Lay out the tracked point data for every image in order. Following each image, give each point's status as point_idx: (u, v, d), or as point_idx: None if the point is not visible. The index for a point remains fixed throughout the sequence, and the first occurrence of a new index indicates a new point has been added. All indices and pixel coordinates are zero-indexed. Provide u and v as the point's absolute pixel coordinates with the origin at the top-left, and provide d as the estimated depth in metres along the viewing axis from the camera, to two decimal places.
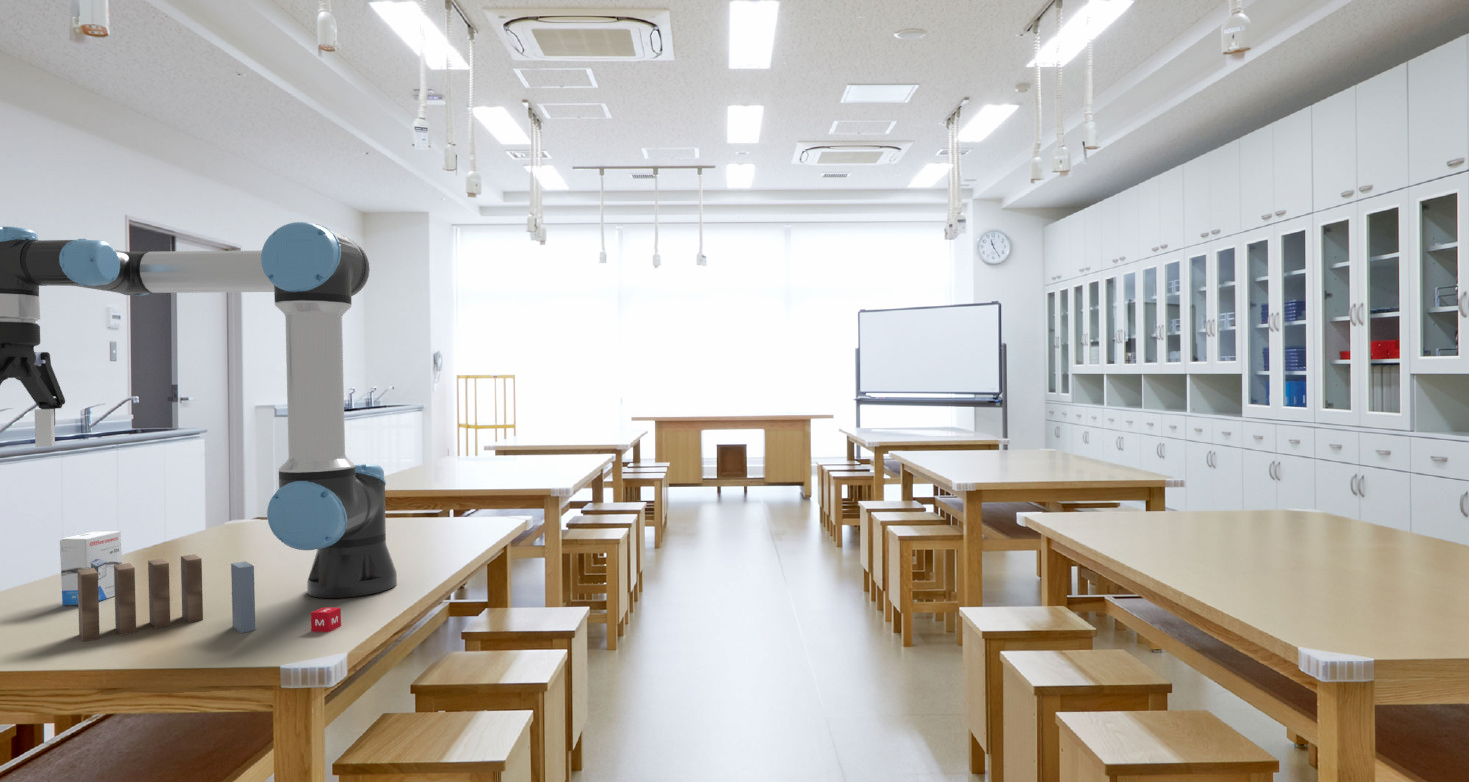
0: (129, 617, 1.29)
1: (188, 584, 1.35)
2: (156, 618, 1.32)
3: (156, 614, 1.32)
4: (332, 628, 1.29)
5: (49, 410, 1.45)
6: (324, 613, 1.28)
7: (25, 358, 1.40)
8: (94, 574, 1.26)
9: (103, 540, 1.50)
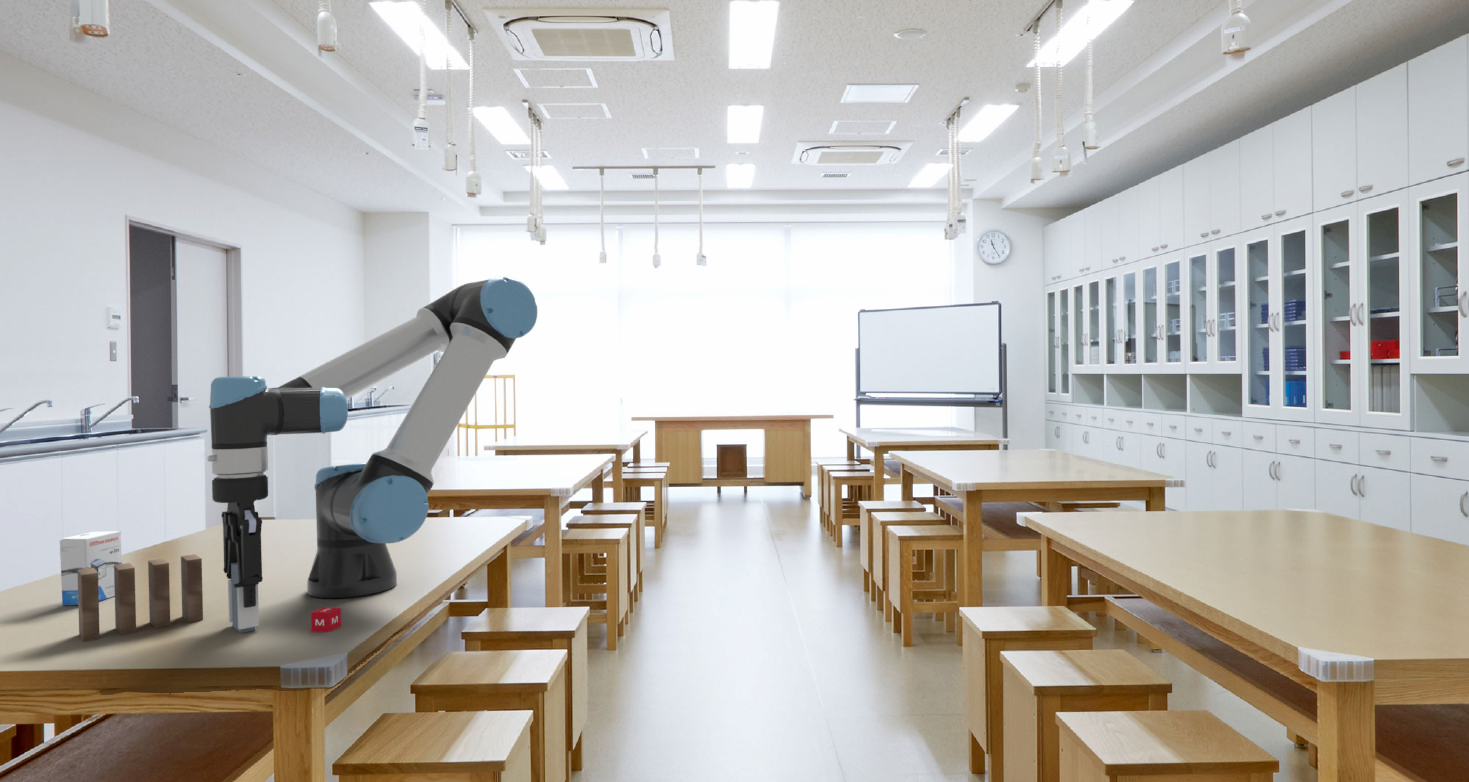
0: (129, 617, 1.29)
1: (188, 584, 1.35)
2: (156, 618, 1.32)
3: (156, 614, 1.32)
4: (332, 628, 1.29)
5: None
6: (324, 613, 1.28)
7: None
8: (94, 574, 1.26)
9: (103, 540, 1.50)
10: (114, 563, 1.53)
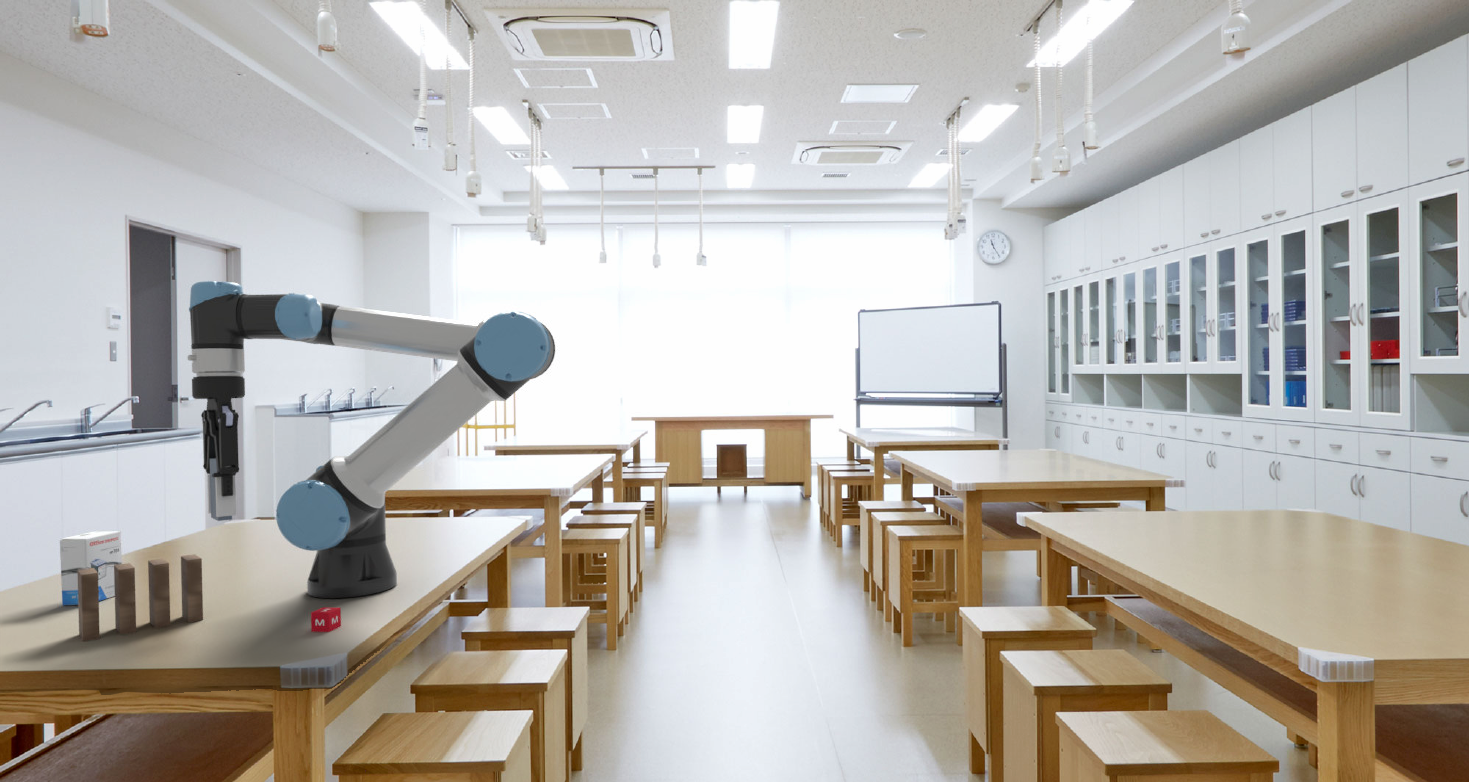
0: (129, 617, 1.29)
1: (188, 584, 1.35)
2: (156, 618, 1.32)
3: (156, 614, 1.32)
4: (332, 628, 1.29)
5: None
6: (324, 613, 1.28)
7: None
8: (94, 574, 1.26)
9: (103, 540, 1.50)
10: (114, 563, 1.53)
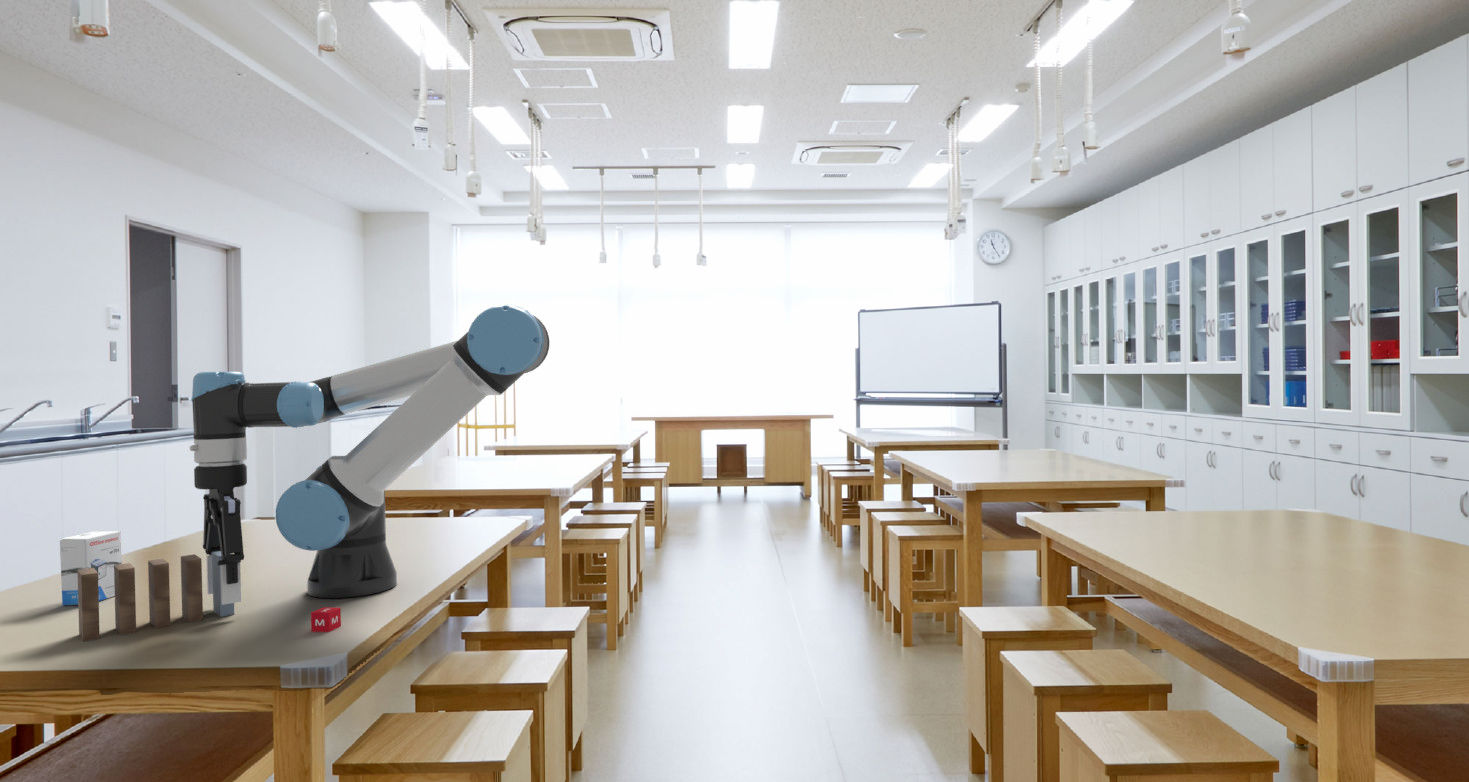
0: (129, 617, 1.29)
1: (188, 584, 1.35)
2: (156, 618, 1.32)
3: (156, 614, 1.32)
4: (332, 628, 1.29)
5: None
6: (324, 613, 1.28)
7: None
8: (94, 574, 1.26)
9: (103, 540, 1.50)
10: (114, 563, 1.53)
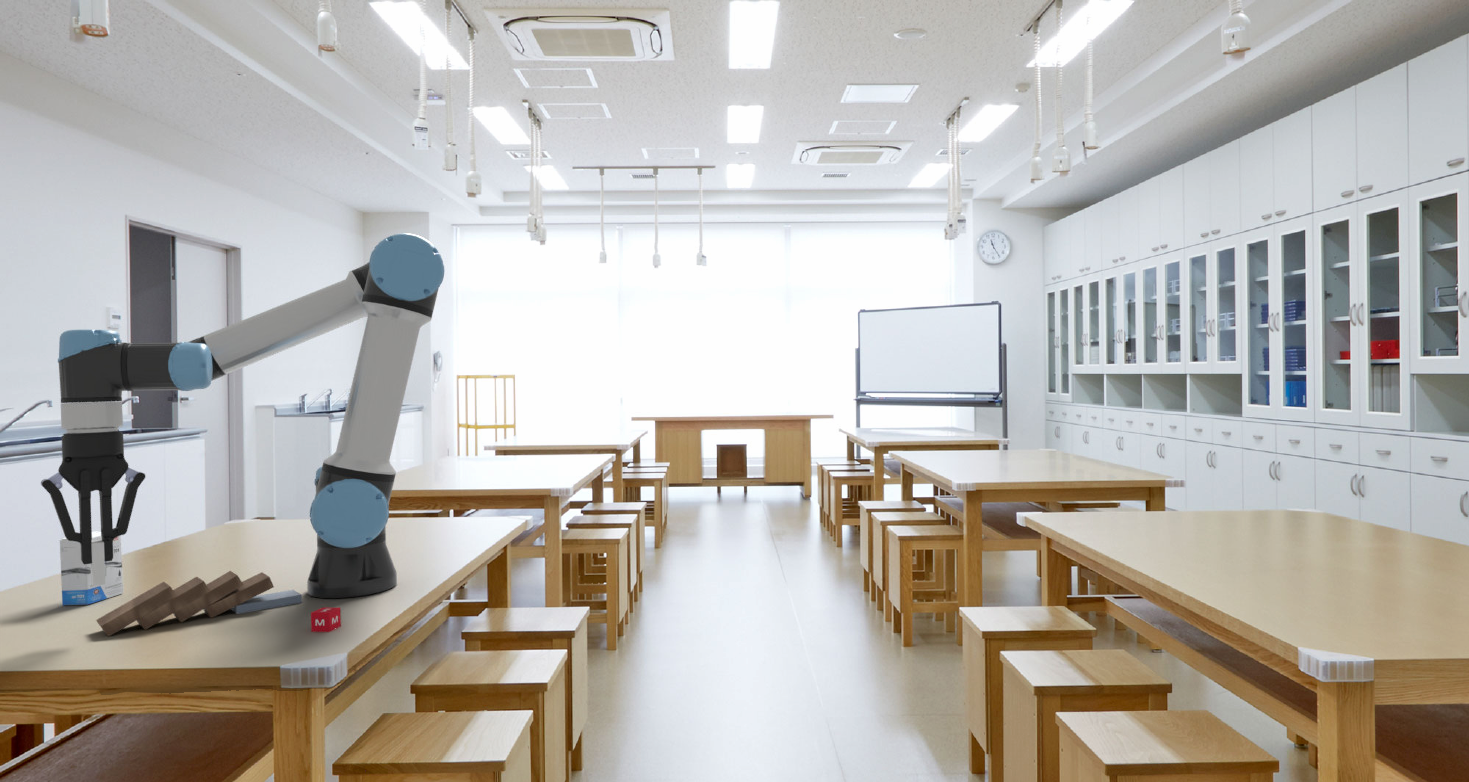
0: (158, 616, 1.32)
1: (245, 589, 1.40)
2: (184, 607, 1.34)
3: (189, 605, 1.35)
4: (332, 628, 1.29)
5: (97, 544, 1.28)
6: (324, 613, 1.28)
7: (104, 468, 1.28)
8: (174, 595, 1.33)
9: None
10: (114, 563, 1.53)
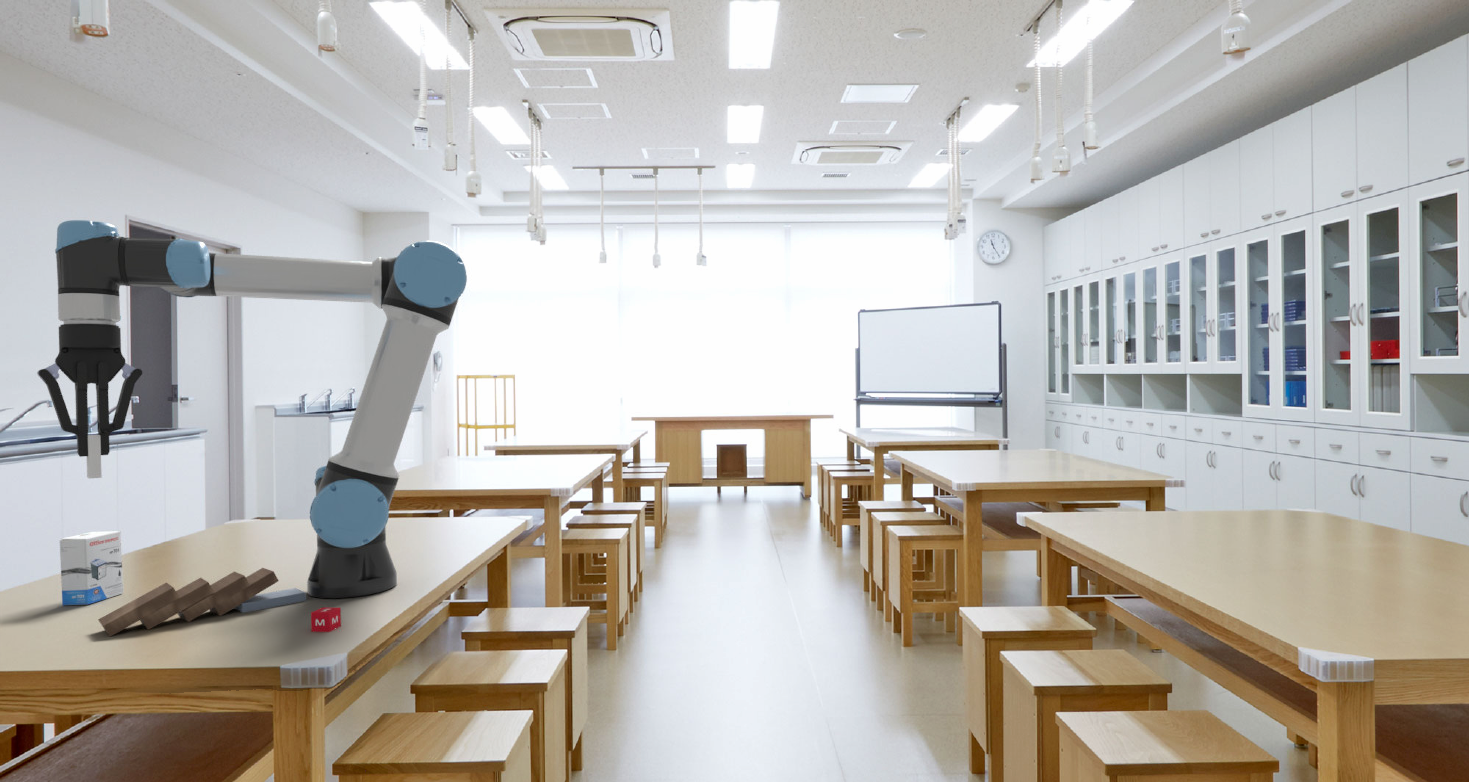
0: (162, 616, 1.32)
1: (251, 585, 1.42)
2: (192, 606, 1.35)
3: (196, 604, 1.35)
4: (332, 628, 1.29)
5: None
6: (325, 613, 1.28)
7: (101, 361, 1.28)
8: (177, 596, 1.34)
9: (103, 540, 1.50)
10: (114, 563, 1.53)
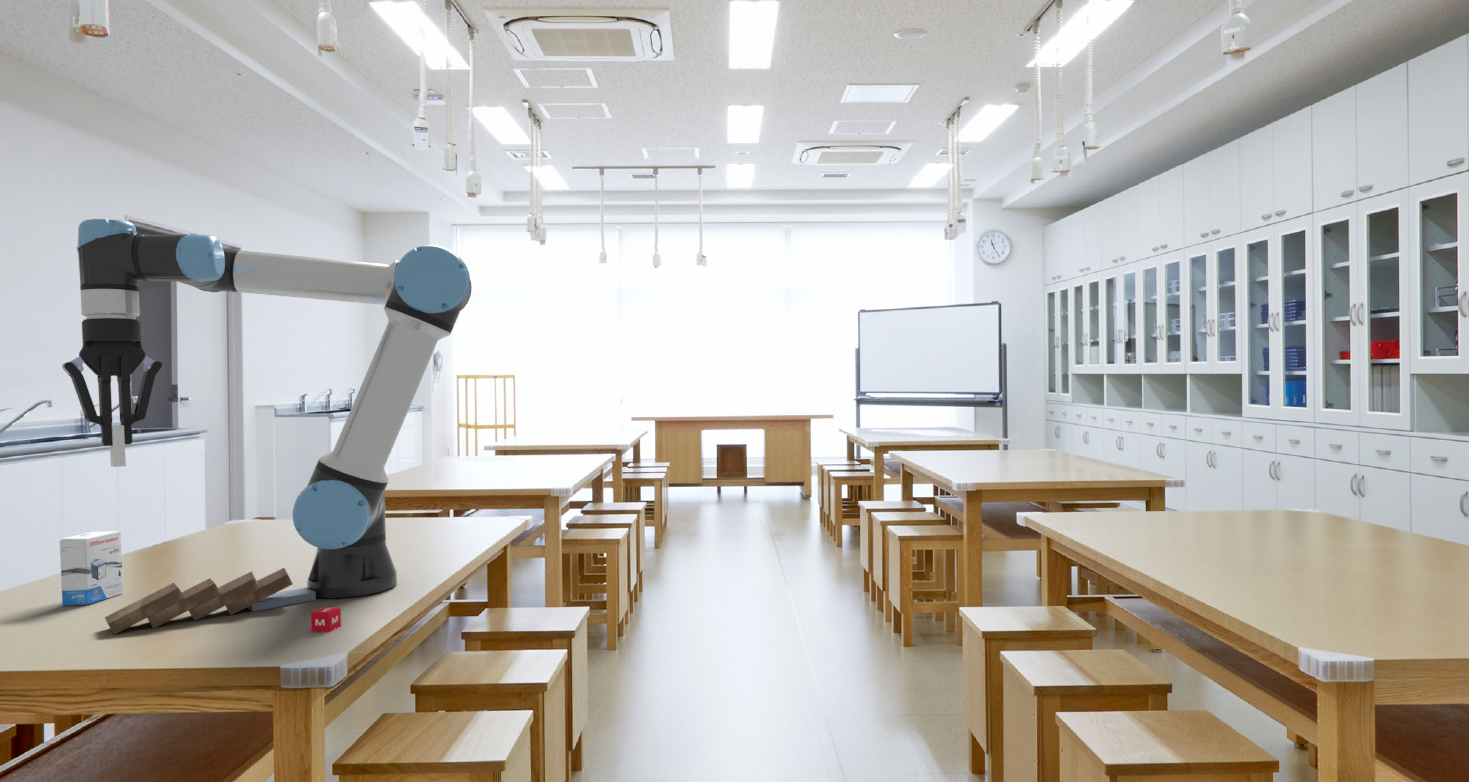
0: (168, 615, 1.33)
1: (264, 586, 1.41)
2: (199, 606, 1.36)
3: (203, 604, 1.36)
4: (332, 628, 1.29)
5: (117, 427, 1.33)
6: (324, 613, 1.28)
7: (123, 354, 1.33)
8: (181, 596, 1.34)
9: (103, 540, 1.50)
10: (114, 563, 1.53)
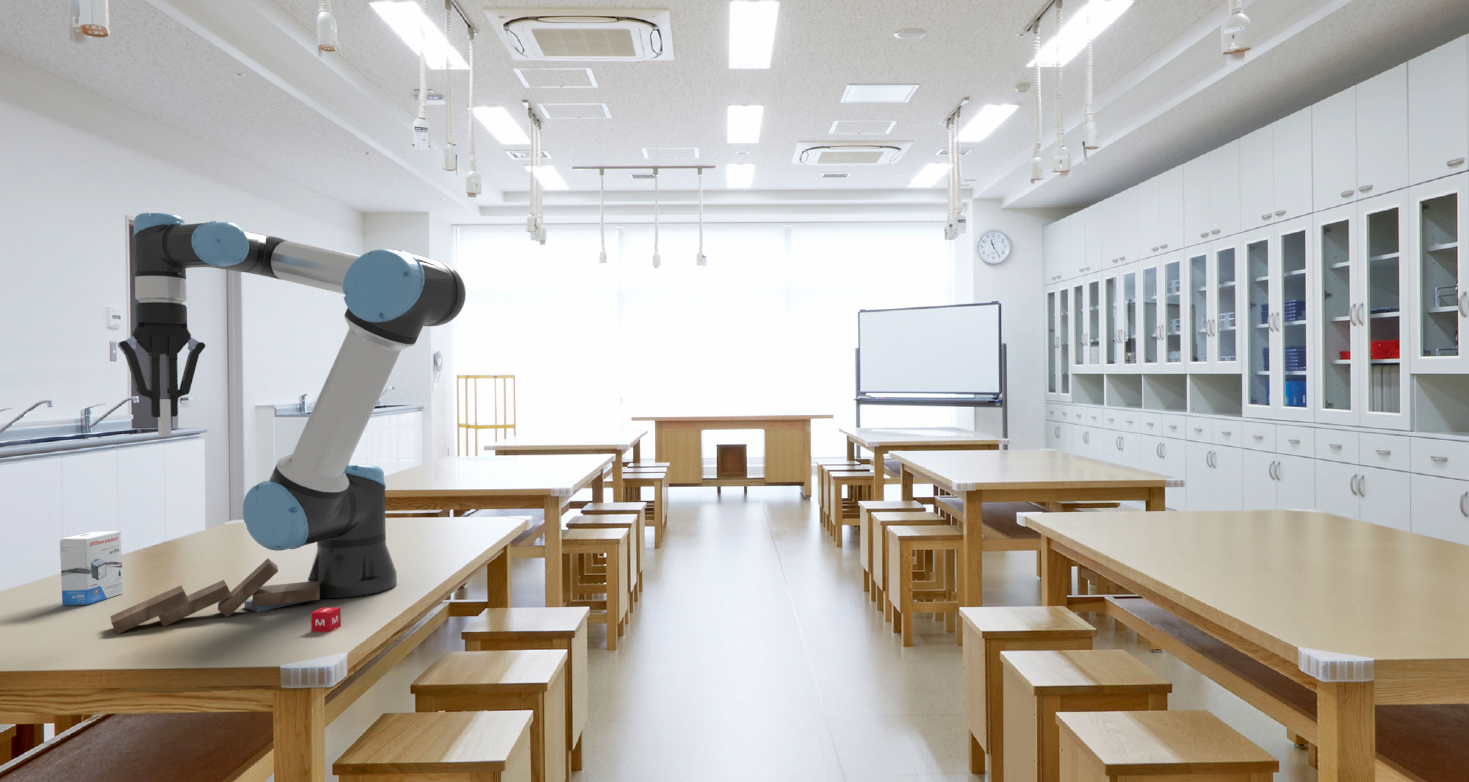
0: (178, 614, 1.34)
1: (293, 591, 1.42)
2: (226, 603, 1.37)
3: (229, 600, 1.37)
4: (332, 628, 1.29)
5: None
6: (325, 613, 1.28)
7: None
8: (186, 600, 1.34)
9: (103, 540, 1.50)
10: (114, 563, 1.53)
